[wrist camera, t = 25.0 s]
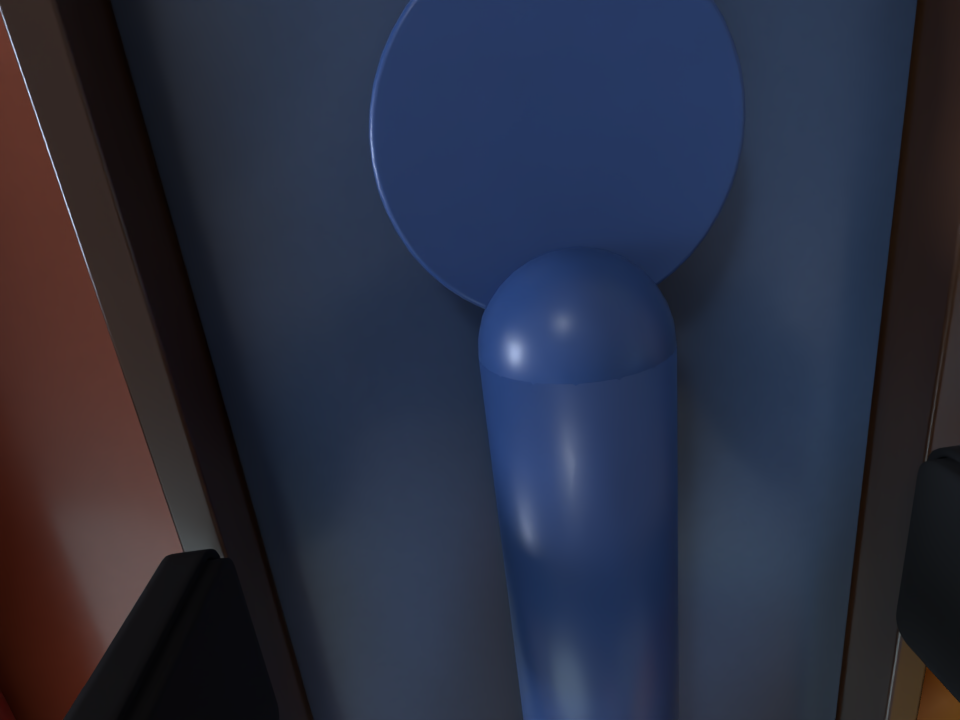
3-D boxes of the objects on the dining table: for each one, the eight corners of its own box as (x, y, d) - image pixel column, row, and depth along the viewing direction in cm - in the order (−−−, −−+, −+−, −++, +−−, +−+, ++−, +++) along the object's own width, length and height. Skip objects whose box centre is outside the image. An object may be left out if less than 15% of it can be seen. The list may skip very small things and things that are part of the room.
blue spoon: (699, 814, 13) (755, 961, 11) (491, 844, 13) (503, 1000, 11) (708, -75, 8) (829, -162, 5) (348, -33, 8) (309, -103, 5)
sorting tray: (-131, 965, 14) (-207, 1078, 13) (-933, -85, 7) (-1354, -149, 5) (832, 824, 15) (884, 916, 13) (969, -297, 8) (1120, -416, 6)
